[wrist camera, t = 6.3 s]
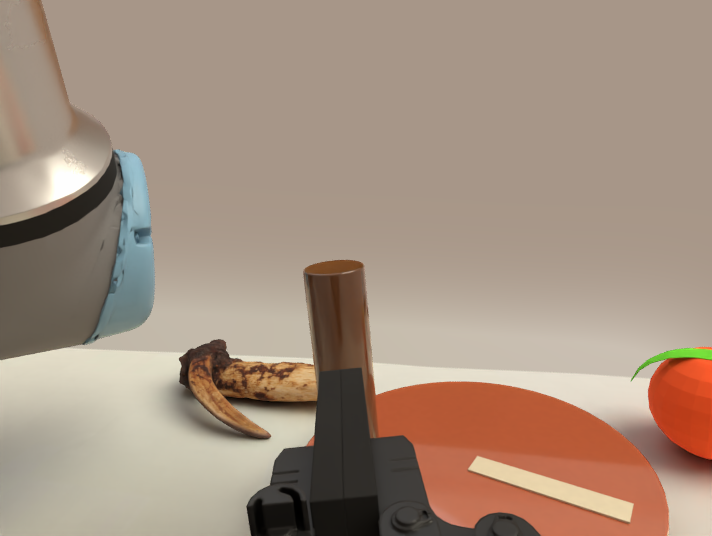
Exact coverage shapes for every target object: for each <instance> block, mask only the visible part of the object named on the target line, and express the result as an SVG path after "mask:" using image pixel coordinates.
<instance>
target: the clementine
mask: <svg viewBox="0 0 712 536" xmlns="http://www.w3.org/2000/svg"><path fill="white" fill-rule="evenodd" d="M665 359H667V360H665ZM661 360H665V361H664V362H663V363H661V364H660V366H659V367H658V368H657V370H656V371H655V373H654V374H653V376H652V378H651V380H650V384H649V389H648V398H649V408H650V411H651V413H652V415H653V417H654V420H655V422H656V423H657V425H658V427H659V428H660V429H661V430H662V431H663V433H664V434H665V435H666V436H667V437H668V438H669V439H670V440H671V441H672V442H673V443H675V444H677V445H678V446H680V447H681V448H683V449H685V450H686V451H688V452H690V453H692V454H694V455H696V456H699V457H702V458H706V459H710V460H712V348H711V347H698V348H684V349H676V350H671V351H667V352H664V353H661V354H659V355H657V356H654V357H652V358H650V359H649V360H647V361H646V362H645V363H644V364H642V365H641V366H640V367H639V368H638V370H637V371H636V373H635V375H634V376H633V378H634V377H635V376H636V374H637V373H638V372H639V370H641V369H643V368H644V367H646V366H647V365H649V364H651V363H654V362H658V361H661ZM633 378H632V379H631V381H632V380H633Z"/></svg>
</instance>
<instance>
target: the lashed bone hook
mask: <svg viewBox="0 0 712 536" xmlns="http://www.w3.org/2000/svg"><path fill="white" fill-rule="evenodd" d="M179 361H180V362H181V365H182V367H181V371H180V380H179V383H180V384H183V385H185V386H186V388H188V389H189V390H191V391H192V393H193V394H194V396H195V397H196V399H197V400H198V401H199V402H200V403H201V404H202V405H203V406H204V408H206V409H207V410H208V411H209V412H210V413H211V414H212V415H213V416H215V417H216V418H217V419H218V420H220V421H222V422H223V423H225V424H226V425H228V426H230V427H231V428H233V429H235V430H237V431H239V432H241V433H243V434H246V435H249V436H253V437H257V438H269V437H271V435H270V434H269V433H268V432H267V431H266V430H264V429H262V428H261V427H259V426H258V425H256V424H255V423H253V422H252V421H250V420H249V419H248V418H247V417H246V416H244V415H243V414H242V413H240V412H239V411H238V410H237V409H235V408H234V407H233V406H232V405H231V404H230V403H229V402H228V401H227V400H226V399H225V397H224V396H226V397H236V398H244V397H247V398H252V399H258V400H263V401H285V402H297V401H302V402H303V401H317V395H318V394H317V386H316V377H315V369H314V365H311V364H304V363H290V362H281V363H262V362H244V361H242V360H241V359H237V358H236V359H233V358H230V357H229V354H228V353H227V351H226V342H225V341H224V340H220V339H218V340H213V341H211V342H210V343H208V344H204V345H201V346H199V347H197V348H196V349H190V350H188V352H187V353H186V354H184V355H183V356H182V357H180V358H179Z"/></svg>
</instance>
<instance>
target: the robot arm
mask: <svg viewBox="0 0 712 536" xmlns="http://www.w3.org/2000/svg"><path fill="white" fill-rule="evenodd" d="M150 235H151V213H150V204H149V196H148V189H147V183H146V178H145V173H144V169H143V165H142V163H141V160H140V159H139V157H138V156H136V155H135V154H133V153H129V152H124V151H120V150H113V149H112V143H111V140H110V136H109V134H108V133H107V131H106V129H105V127H104V126H103V125H102V124H101V122H100V121H98V120H97V119H96V118H95V117H94V116H93V115H91V114H89V113H88V112H86V111H85V110H83V109H81V108H79V107H77V106H75V105H73V104H71V103H70V102H69V99H68V96H67V92H66V88H65V85H64V81H63V78H62V74H61V70H60V67H59V63H58V59H57V56H56V52H55V49H54V45H53V41H52V38H51V34H50V31H49V27H48V24H47V19H46V16H45V12H44V9H43V5H42V1H41V0H0V360H4V359H9V358H14V357H19V356H24V355H29V354H35V353H40V352H45V351H50V350H55V349H60V348H66V347H71V346H76V345H81V344H83V345H87V344H91V343H93V342H95V341H96V340H97V339H100V338H104V337H108V336H111V335H115V334H119V333H122V332H127V331H130V330H133V329H135V328H137V327H139V326H140V325H142V324H143V323H144V322H145V321H146V320H147V318H148V317H149V315H150V313H151V311H152V307H153V302H154V286H155V276H154V275H155V274H154V251H153V243H152V238H151V236H150ZM272 474H273V475H272V477H271V483H270V486H267V487H266V488H264V489H262V490H260V491H258V492H257V493H256V494H255V495H254V496H253V497H251V499H250V501H249V502H248V504H247V506H246V507H247V513H248V519H249V525H250V531H251V536H541V535H540V534H539V533H538V532H537V530H536V529H535V528H534V527H533V526H532V525H531V524H529V523H528V522H527V521H526V520H525V519H523V518H521V517H518V516H516V515H514V514H510V513H503V512H498V513H491V514H487V515H486V516H484V517H482V518H480V519H479V520H478V522H477V523H476V524H475V527H474V528H468V527H461V526H457V525H453V524H450V523H448V522H446V521H443V520H442V519H441V518H439V517H438V516H437V515H436V514H435V513H434V511H433V510H432V509H431V507H430V505H429V501H428V497H427V494H426V490H425V486H424V483H423V479H422V475H421V472H420V468H419V464H418V461H417V458H416V453H415V449H414V446H413V444H412V443H411V442H410V441H409V440H408V439H407V438H406V437H405V436H404V435H399V436H389V437H380V438H370V431H369V423H368V415H367V407H366V399H365V391H364V383H363V375H362V367H360V368H350V369H340V370H331V371H321V372H319V382H318V395H317V408H316V422H315V435H314V446H306V447H296V448H287V449H284V450H283V451H282V452H281V453H280V455H279V456H278V457H277V458H276V460H275V462H274V467H273V472H272Z"/></svg>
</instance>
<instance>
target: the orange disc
mask: <svg viewBox="0 0 712 536" xmlns="http://www.w3.org/2000/svg"><path fill="white" fill-rule="evenodd" d="M303 275H304V283H305V292H306V300H307V309H308V318H309V326H310V334H311V343H312V351H313V360H314V369H315V377H316V386H317V394H318V382H319V372H321V371H331V370H340V369H350V368H360V367H362V375H363V383H364V391H365V399H366V407H367V415H368V423H369V431H370V438H380V437H389V436H399V435H404V436H405V437H406V438H407V439H408V440H409V441H410V442H411V443H412V444H413V446H414V449H415V453H416V458H417V461H418V464H419V468H420V472H421V475H422V479H423V483H424V486H425V490H426V494H427V497H428V501H429V505H430V507H431V509H432V510H433V511H434V513H435V514H436V515H437V516H438V517H439V518H441V519H442V520H443V521H446V522H448V523H450V524H453V525H457V526H461V527H468V528H474V527H475V524H476V523H477V522H478V520H479V519H480V518H482V517H484V516H486V515H487V514H491V513H498V512H503V513H510V514H514V515H516V516H518V517H521V518H523V519H525V520H526V521H527V522H528V523H529V524H531V525H532V526H533V527H534V528H535V529H536V530H537V532H538V533H539V534H540V535H541V536H669V508H668V504H667V500H666V496H665V492H664V490H663V487H662V485H661V483H660V481H659V479H658V476H657V474H656V473H655V471H654V470H653V468H652V467H651V465H650V464H649V462H648V461H647V459H646V458H645V457H644V456H643V455H642V454H641V453H640V451H639V450H638V449H637V448H636V447H635V446H634V445H633V444H632V443H631V442H630V441H629V440H627V439H626V438H625V437H624V436H623V435H622V434H621V433H619V432H618V431H617V430H615V429H614V428H612V427H611V426H610V425H608V424H607V423H605V422H604V421H602V420H600V419H599V418H597V417H595V416H594V415H592V414H590V413H588V412H586V411H584V410H582V409H580V408H578V407H576V406H574V405H572V404H569V403H567V402H564V401H561V400H559V399H556V398H554V397H551V396H547V395H544V394H541V393H538V392H534V391H530V390H526V389H522V388H517V387H512V386H506V385H500V384H491V383H482V382H437V383H427V384H419V385H413V386H408V387H403V388H398V389H395V390H391V391H387V392H384V393H381V394H378V395H375V384H374V372H373V361H372V349H371V338H370V327H369V314H368V303H367V291H366V280H365V269H364V264H363V263H361V262H359V261H353V260H335V261H327V262H321V263H317V264H313V265H310V266H308V267H307V268H305V269H304V271H303ZM307 446H314V436H313V437H312V438H311V440H310V441H309V443H308V444H307Z"/></svg>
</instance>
